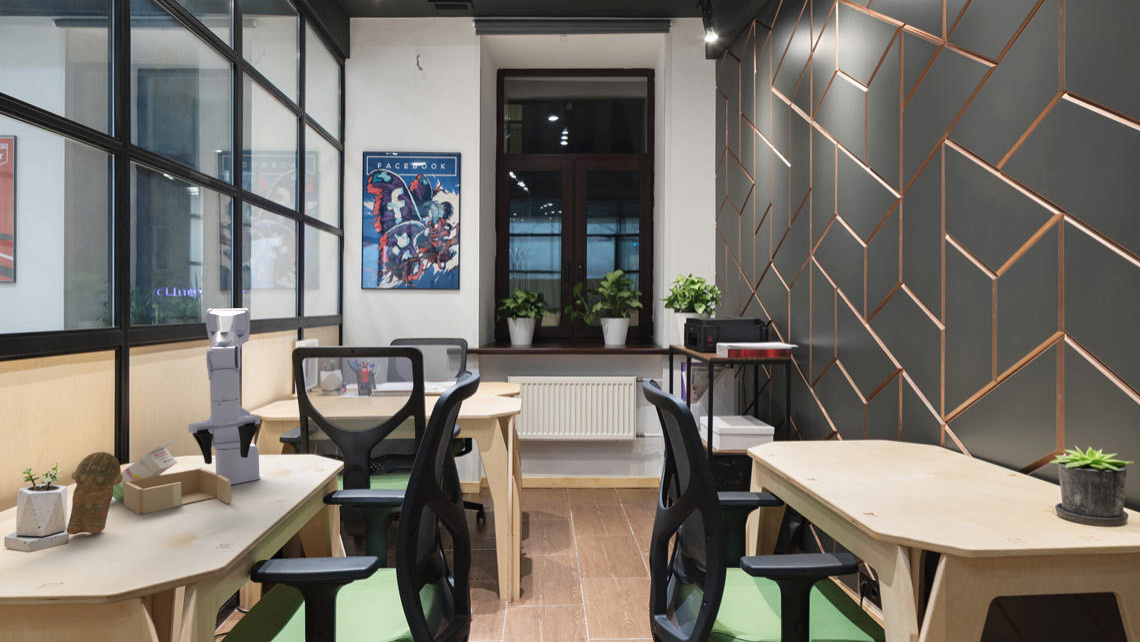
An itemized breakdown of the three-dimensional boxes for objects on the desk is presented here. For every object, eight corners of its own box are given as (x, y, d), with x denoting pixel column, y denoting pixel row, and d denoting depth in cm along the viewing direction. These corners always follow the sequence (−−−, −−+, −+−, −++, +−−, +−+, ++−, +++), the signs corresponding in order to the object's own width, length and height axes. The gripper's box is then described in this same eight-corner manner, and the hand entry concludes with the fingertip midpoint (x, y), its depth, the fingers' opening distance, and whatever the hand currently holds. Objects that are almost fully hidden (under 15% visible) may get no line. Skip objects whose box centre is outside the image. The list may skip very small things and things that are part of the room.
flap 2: (217, 497, 149) (216, 475, 149) (221, 496, 150) (220, 474, 150) (226, 503, 144) (226, 480, 144) (231, 502, 144) (230, 480, 144)
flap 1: (180, 504, 144) (179, 482, 144) (182, 505, 143) (181, 482, 143) (143, 512, 138) (142, 489, 138) (144, 513, 138) (143, 489, 138)
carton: (201, 489, 157) (200, 467, 157) (219, 497, 150) (218, 474, 150) (123, 505, 145) (123, 482, 145) (139, 514, 138) (138, 489, 138)
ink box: (116, 502, 148) (172, 461, 149) (102, 485, 147) (158, 444, 149) (136, 493, 156) (189, 454, 158) (123, 477, 156) (176, 438, 157)
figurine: (65, 542, 122) (62, 462, 121) (74, 529, 129) (72, 454, 129) (119, 534, 126) (117, 456, 125) (126, 522, 133) (123, 449, 133)
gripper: (196, 405, 138) (198, 468, 138) (265, 397, 149) (267, 456, 149) (184, 402, 142) (186, 464, 143) (251, 395, 153) (253, 452, 154)
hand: (226, 460), depth 146 cm, fingers open, 7 cm apart
